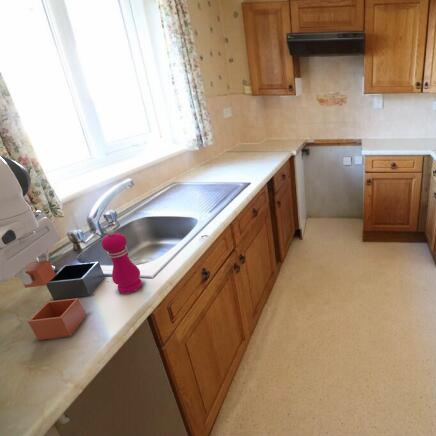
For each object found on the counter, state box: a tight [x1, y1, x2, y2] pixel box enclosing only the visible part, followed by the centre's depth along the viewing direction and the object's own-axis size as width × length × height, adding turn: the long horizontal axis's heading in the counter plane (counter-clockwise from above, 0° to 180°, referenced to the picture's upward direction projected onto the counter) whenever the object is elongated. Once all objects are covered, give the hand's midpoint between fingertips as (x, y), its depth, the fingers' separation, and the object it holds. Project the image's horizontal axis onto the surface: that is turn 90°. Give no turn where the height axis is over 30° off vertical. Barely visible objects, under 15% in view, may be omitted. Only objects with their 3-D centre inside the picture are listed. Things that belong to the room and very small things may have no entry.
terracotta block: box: [23, 260, 56, 289], centre depth 79 cm, size 4×4×4 cm
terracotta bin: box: [27, 297, 87, 341], centre depth 83 cm, size 8×8×6 cm
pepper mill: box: [101, 228, 143, 294], centre depth 95 cm, size 7×7×20 cm
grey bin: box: [45, 261, 106, 301], centre depth 99 cm, size 10×10×6 cm
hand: (37, 275), depth 79 cm, fingers closed on terracotta block, 4 cm apart
